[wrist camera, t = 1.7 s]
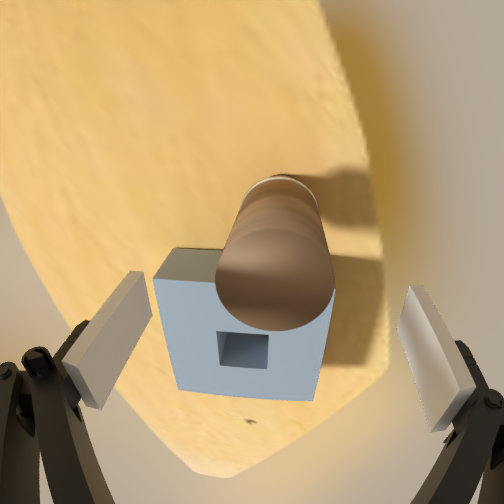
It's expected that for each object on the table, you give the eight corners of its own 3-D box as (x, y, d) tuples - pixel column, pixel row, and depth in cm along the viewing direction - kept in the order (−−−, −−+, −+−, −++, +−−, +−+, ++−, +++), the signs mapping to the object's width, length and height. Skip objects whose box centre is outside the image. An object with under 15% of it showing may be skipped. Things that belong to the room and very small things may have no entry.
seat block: (173, 248, 33) (152, 278, 27) (328, 255, 31) (335, 288, 26) (190, 355, 40) (178, 389, 35) (311, 364, 39) (312, 401, 33)
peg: (247, 162, 28) (210, 226, 15) (315, 164, 27) (343, 232, 14) (248, 224, 31) (217, 328, 17) (311, 227, 30) (327, 333, 17)
